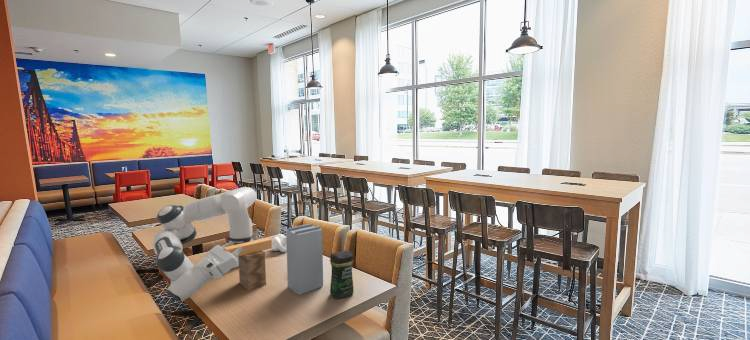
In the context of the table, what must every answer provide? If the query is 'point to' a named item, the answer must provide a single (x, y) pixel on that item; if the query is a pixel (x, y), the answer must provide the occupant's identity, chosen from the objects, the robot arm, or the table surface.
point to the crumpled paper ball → (279, 243)
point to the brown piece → (252, 270)
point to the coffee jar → (341, 274)
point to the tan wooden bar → (251, 246)
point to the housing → (304, 258)
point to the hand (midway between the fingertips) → (237, 245)
